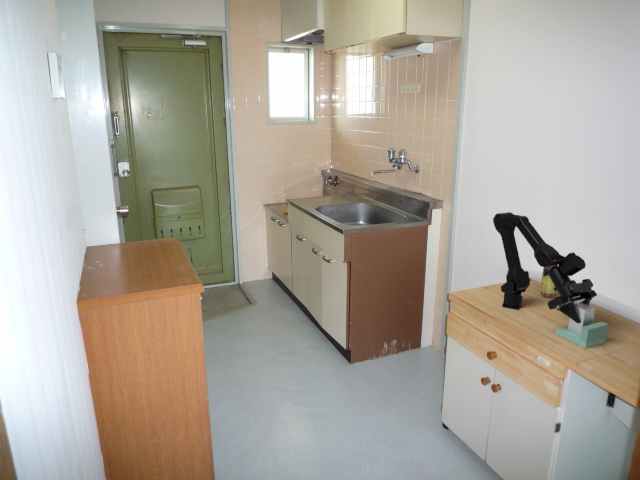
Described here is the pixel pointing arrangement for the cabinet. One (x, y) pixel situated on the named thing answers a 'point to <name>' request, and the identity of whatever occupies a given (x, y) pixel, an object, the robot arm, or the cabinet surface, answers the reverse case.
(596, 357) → the cabinet surface
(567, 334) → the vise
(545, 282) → the sauce bottle
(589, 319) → the gray upright column
